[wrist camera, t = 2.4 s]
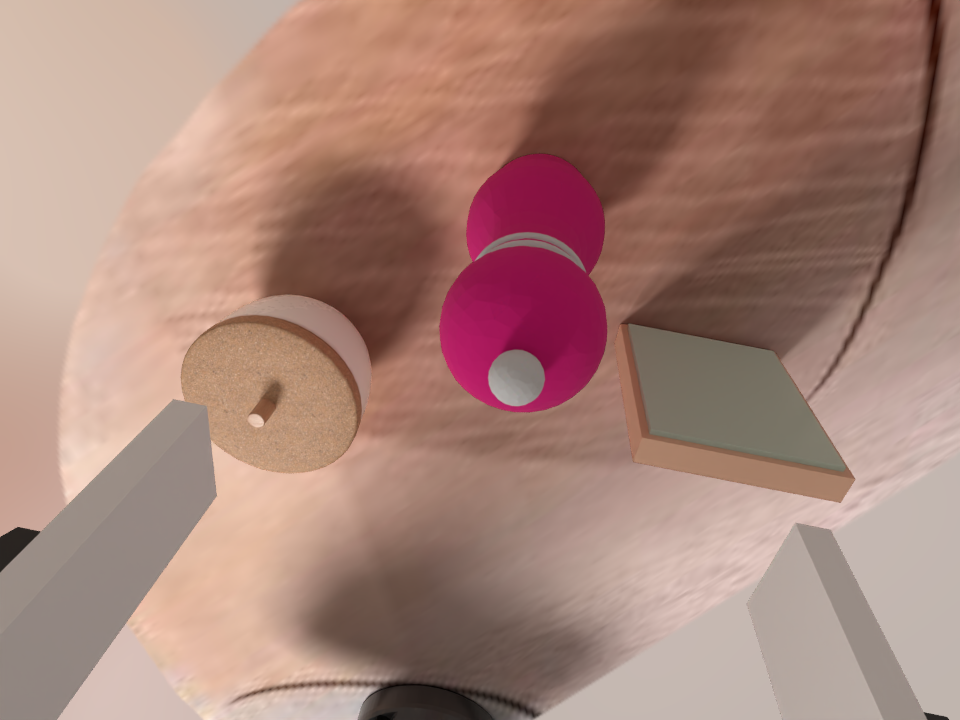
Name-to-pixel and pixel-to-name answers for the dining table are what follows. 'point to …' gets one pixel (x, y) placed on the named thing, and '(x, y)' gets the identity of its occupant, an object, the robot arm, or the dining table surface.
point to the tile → (723, 414)
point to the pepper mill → (528, 288)
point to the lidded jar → (281, 383)
